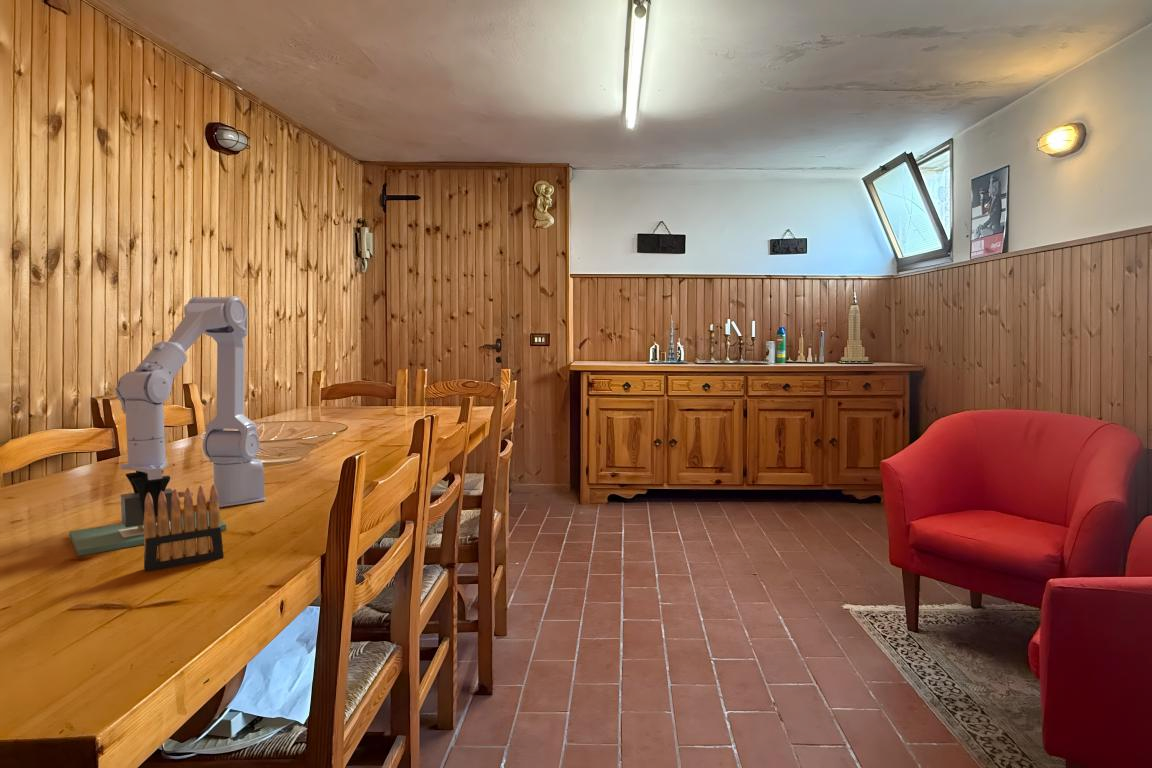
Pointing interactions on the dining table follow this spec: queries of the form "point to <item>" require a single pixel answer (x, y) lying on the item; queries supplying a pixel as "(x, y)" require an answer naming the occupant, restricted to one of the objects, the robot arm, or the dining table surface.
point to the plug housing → (140, 507)
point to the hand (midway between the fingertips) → (149, 513)
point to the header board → (112, 537)
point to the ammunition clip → (181, 531)
